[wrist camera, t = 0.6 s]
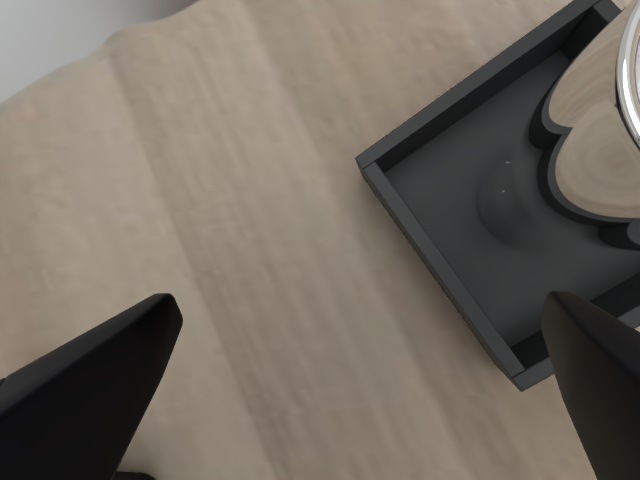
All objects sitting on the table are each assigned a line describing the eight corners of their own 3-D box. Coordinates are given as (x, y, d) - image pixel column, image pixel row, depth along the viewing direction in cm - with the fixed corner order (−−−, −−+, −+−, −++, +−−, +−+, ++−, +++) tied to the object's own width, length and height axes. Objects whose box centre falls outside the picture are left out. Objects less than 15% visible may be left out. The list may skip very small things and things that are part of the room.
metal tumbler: (579, 127, 21) (995, -185, 6) (613, 243, 20) (1176, 190, 6) (457, 159, 22) (567, -39, 8) (485, 268, 22) (665, 277, 7)
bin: (736, 230, 19) (827, 221, 15) (498, 368, 21) (521, 392, 17) (559, 35, 22) (596, -17, 18) (362, 175, 24) (354, 158, 20)
